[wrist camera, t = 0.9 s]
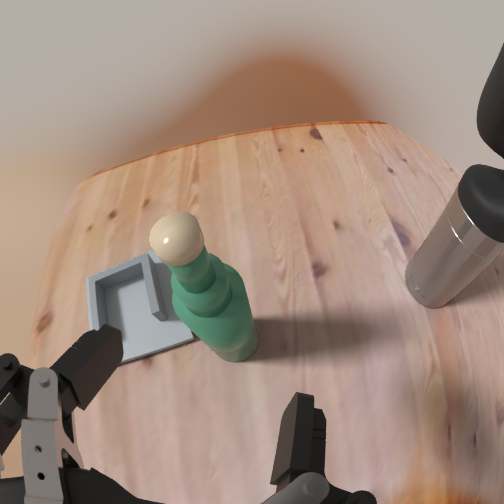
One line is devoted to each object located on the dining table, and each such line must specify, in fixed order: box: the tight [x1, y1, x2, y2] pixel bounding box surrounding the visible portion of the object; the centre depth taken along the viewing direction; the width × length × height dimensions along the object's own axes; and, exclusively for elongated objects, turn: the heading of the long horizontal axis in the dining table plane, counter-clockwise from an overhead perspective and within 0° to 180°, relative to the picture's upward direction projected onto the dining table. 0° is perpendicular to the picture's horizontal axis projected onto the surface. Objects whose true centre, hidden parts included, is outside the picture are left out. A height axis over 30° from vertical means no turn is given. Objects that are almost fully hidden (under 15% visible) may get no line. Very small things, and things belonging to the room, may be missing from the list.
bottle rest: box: [86, 250, 195, 364], centre depth 36 cm, size 16×16×4 cm
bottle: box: [149, 212, 258, 362], centre depth 24 cm, size 6×6×23 cm
